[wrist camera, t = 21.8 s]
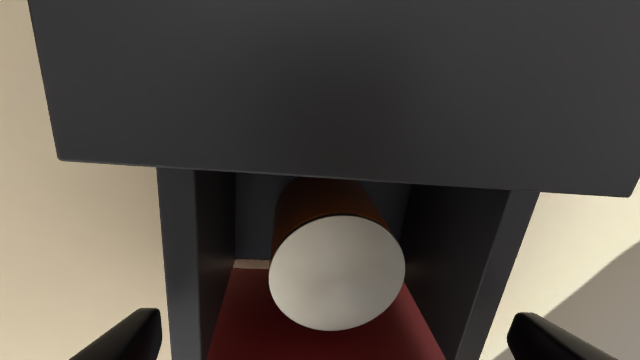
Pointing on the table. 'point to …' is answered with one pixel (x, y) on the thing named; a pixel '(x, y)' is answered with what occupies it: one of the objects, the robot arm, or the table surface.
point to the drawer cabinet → (351, 89)
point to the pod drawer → (350, 344)
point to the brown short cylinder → (332, 255)
